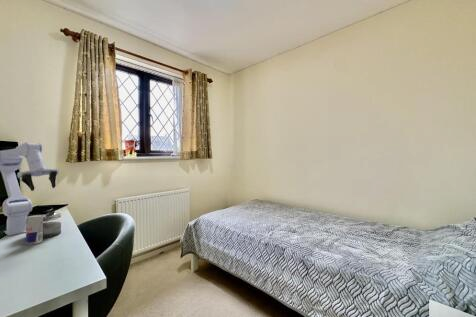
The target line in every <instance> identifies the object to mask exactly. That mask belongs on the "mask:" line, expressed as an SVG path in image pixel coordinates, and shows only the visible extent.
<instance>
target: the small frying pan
mask: <svg viewBox="0 0 476 317" xmlns="http://www.w3.org/2000/svg"><path fill="white" fill-rule="evenodd" d="M41 215H42V216H43V223H45V222H52V221H55V220H57V219H60V218H62V213H60V212H56V211H53V210H52V211H48V212H47V213H46V214H41ZM25 224H27V220H25Z"/></svg>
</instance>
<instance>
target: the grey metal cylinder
mask: <svg viewBox="0 0 476 317" xmlns="http://www.w3.org/2000/svg"><path fill="white" fill-rule="evenodd" d="M26 228H27V227H26ZM60 234H62V222H61V221H47V222H43V240H44V239H49V238H53V237H57V236H58V235H60Z"/></svg>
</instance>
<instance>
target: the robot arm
mask: <svg viewBox="0 0 476 317" xmlns="http://www.w3.org/2000/svg"><path fill="white" fill-rule="evenodd" d="M42 151H43V147H42V144H41V143H37V142H24V143H21V145H18V146H16V147H15V148H12V149H4V150H0V173H1V177H2V180H3V183H4V186H5V190H6V193H7V196H8V197H7V198H6V199H5V200H4V201H3V203H2V213H3V215H4V216H6V217H7V219H6V230H5V231H3V233H4V232H5V233H4V234H6V235H7V236H13V235H18V234H24V233H26V227H27V224H25V220H27V217H28V215H29V214H30V212H32V211H33V206H34V205H33V203H32V201H31V200H30V198H29V197H28V196H26V195H25V196H24V195H23V194H22V192H21V188H20V185H19V182H18V179H20V181H21V182H23V183H24V184H25V185H27V187H28V188H29V189H30V191H31V192H34V190H35V189H36V188H35V185H34V183H33V177H40V176H47V175H48V176H49V177H48V180H49V181H50V184H51V187H52V189H55V187H56V185H57V184H56V181H57V175H59V173H60V171H59V169H58V168H53V169H52V168H47V167H46V165H45V162H44V159H43V155H42ZM24 158H25V159H26V163H27V166H28V169H29V170H26V171H21V172H20V171H19V172H17V174H16V172H15V171H17V170H19V169H20V168H21V165H22V163H23V160H24ZM17 178H18V179H17Z"/></svg>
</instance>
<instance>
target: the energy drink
mask: <svg viewBox="0 0 476 317" xmlns="http://www.w3.org/2000/svg"><path fill="white" fill-rule="evenodd" d="M42 215H43V214H34V215H29V216H28V217H27V228H26V232H25V239H26V240H25V244H26V245H27V246H33V245H34V246H35V245H38V244H41V243H43V240H44V239H43V223H44V222H43V216H42Z"/></svg>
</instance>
